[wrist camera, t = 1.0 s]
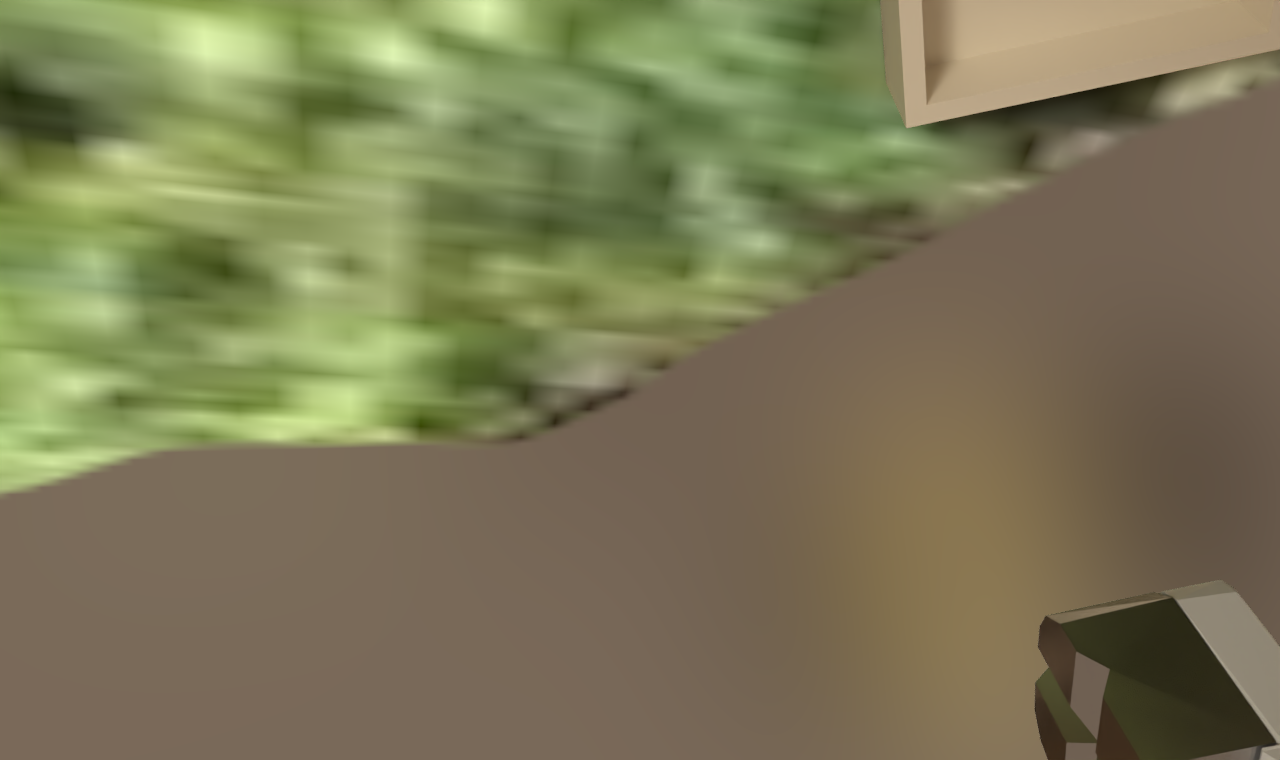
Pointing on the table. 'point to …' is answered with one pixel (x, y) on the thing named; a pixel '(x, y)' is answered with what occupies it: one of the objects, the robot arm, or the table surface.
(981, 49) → the cream bin
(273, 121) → the table surface
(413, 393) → the table surface
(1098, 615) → the robot arm
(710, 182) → the table surface
